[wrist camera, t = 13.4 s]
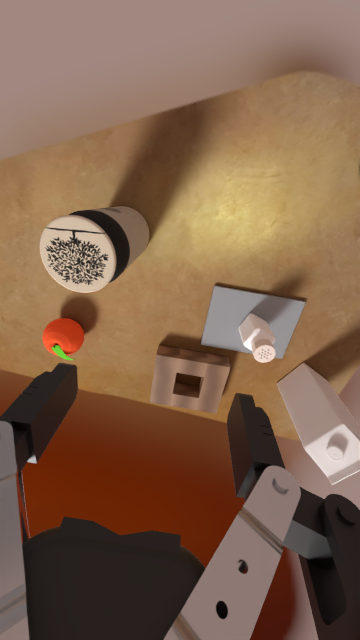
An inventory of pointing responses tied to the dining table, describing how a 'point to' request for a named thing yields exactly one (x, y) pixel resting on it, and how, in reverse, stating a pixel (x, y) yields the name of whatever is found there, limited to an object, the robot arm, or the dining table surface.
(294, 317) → the placemat
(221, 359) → the shaker holder
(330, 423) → the milk carton
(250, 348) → the salt shaker
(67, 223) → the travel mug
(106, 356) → the dining table surface
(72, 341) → the clementine
